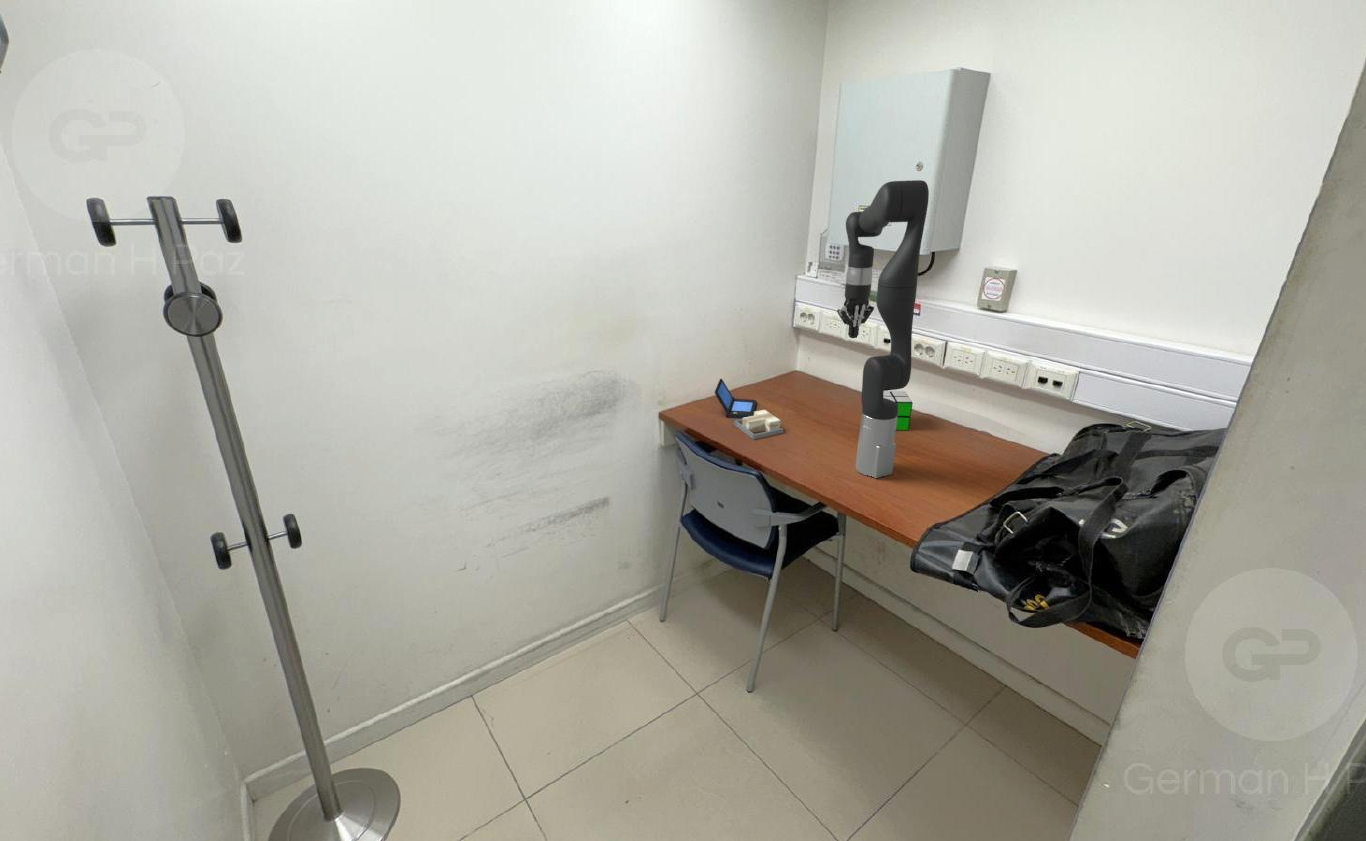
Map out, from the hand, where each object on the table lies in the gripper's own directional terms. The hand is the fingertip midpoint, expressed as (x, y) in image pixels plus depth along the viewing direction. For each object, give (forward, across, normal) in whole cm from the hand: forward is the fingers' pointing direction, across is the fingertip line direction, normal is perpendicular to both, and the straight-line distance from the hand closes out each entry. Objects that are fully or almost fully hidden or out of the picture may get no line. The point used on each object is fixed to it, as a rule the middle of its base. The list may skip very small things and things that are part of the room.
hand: (852, 337), depth 183 cm
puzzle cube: (+29, +12, -8) cm, 33 cm away
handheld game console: (+30, -27, +26) cm, 48 cm away
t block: (+29, -28, +8) cm, 41 cm away
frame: (+29, -28, +8) cm, 41 cm away
